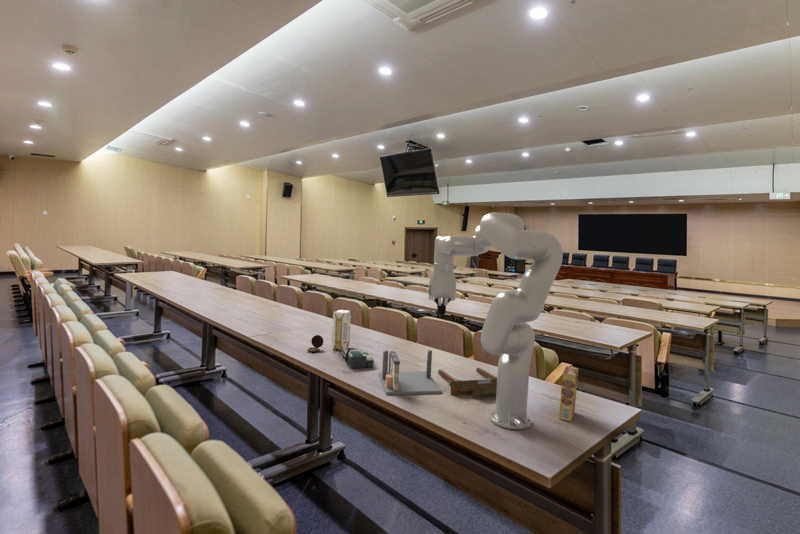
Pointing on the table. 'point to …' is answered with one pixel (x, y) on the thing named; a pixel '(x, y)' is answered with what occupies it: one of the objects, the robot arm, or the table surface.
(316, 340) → the compass
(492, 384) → the miniature gate
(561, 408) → the candy box
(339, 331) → the juice carton
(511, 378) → the robot arm
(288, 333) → the table surface
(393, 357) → the gate
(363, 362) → the communication device
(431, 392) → the gray panel stand
